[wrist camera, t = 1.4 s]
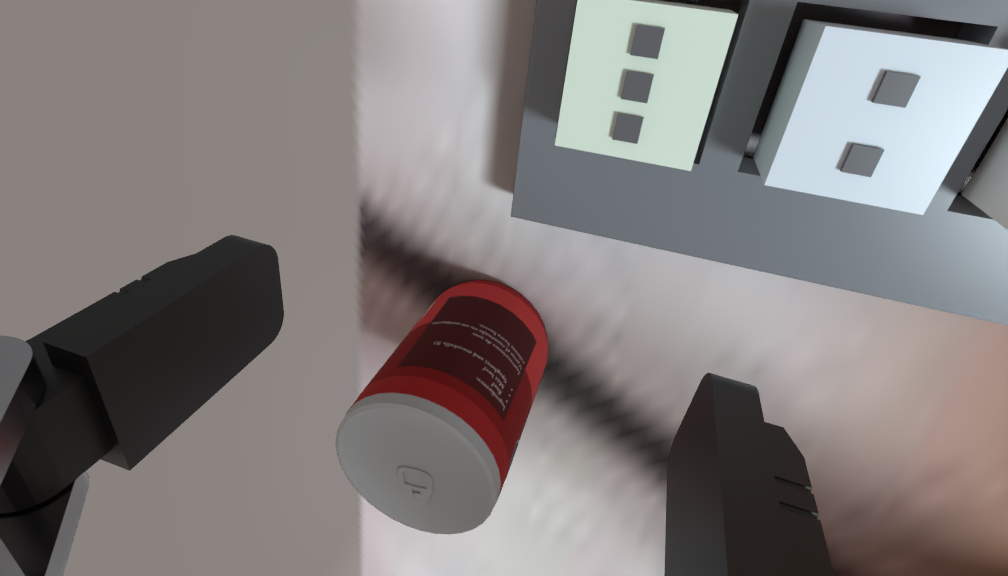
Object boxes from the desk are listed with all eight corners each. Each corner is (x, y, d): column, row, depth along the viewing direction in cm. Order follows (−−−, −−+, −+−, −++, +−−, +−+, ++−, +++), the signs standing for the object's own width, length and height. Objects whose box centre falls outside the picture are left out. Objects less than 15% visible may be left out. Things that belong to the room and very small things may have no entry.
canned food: (453, 387, 35) (372, 530, 26) (413, 282, 32) (303, 404, 22) (565, 383, 32) (518, 543, 23) (534, 267, 29) (464, 400, 20)
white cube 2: (962, 39, 18) (1020, 52, 14) (888, 181, 20) (925, 217, 17) (803, 19, 18) (827, 26, 15) (753, 157, 21) (765, 186, 18)
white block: (730, 9, 19) (739, 14, 16) (689, 145, 22) (690, 172, 19) (593, -9, 20) (577, -7, 17) (571, 124, 23) (553, 146, 19)
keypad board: (1398, -91, 15) (1514, -103, 13) (1067, 312, 22) (1106, 346, 20) (571, -155, 19) (557, -172, 17) (524, 198, 27) (510, 216, 25)
